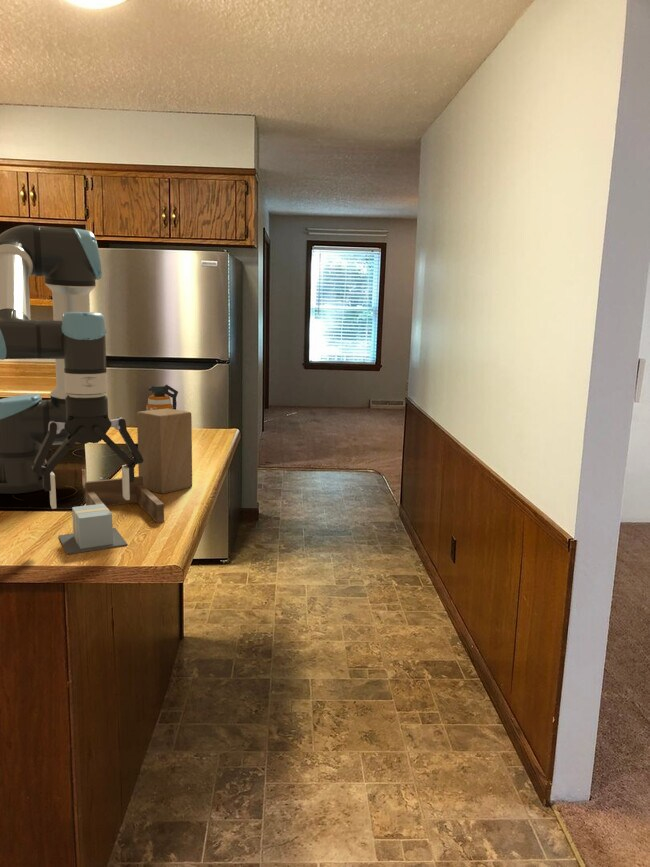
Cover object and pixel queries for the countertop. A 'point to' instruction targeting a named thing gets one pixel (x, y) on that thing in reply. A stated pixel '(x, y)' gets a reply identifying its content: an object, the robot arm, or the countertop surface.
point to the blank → (92, 525)
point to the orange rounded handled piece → (161, 398)
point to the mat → (73, 547)
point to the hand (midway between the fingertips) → (90, 502)
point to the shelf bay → (113, 495)
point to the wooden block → (165, 449)
